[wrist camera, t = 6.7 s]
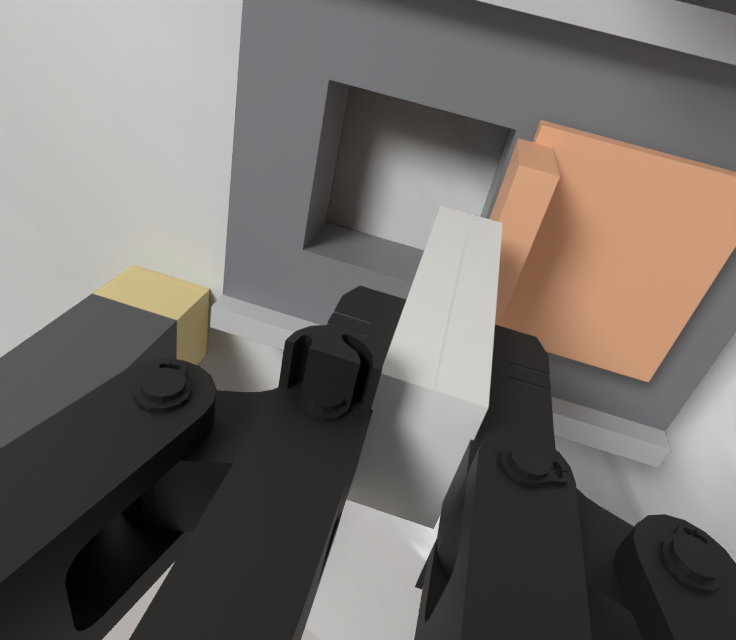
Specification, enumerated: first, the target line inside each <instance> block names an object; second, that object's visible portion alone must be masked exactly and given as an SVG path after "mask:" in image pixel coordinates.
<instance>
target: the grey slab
mask: <svg viewBox="0 0 736 640" xmlns="http://www.w3.org/2000/svg"><path fill="white" fill-rule="evenodd" d="M350 85H351V86H355V87H359V88H362V89H366V90H370V91H373V92H377V93H381V94H385V95H388V96H392V97H396V98H400V99H403V100H407V101H411V102H414V103H418V104H422V105H426V106H429V107H433V108H437V109H440V110H444V111H448V112H452V113H455V114H459V115H463V116H466V117H470V118H474V119H478V120H481V121H485V122H489V123H492V124H496V125H500V126H504V127H507V128H511V129H510V132H509V135H508V138H507V141H506V144H505V146H504V149H503V152H502V155H501V158H500V161H499V164H498V167H497V170H496V173H495V176H494V179H493V181H492V184H491V187H490V190H489V193H488V196H487V199H486V202H485V205H484V208H483V211H482V214H481V216H480V217H483V218H486V219H490V216H491V213H492V211H493V208H494V205H495V202H496V199H497V196H498V194H499V191H500V188H501V185H502V182H503V179H504V177H505V174H506V171H507V168H508V165H509V162H510V160H511V157H512V154H513V151H514V148H515V145H516V143H517V140H518V138H519V139H523V140H527V141H530V142H533V139H534V136H535V133H536V131H537V128H538V125H539V123H540V120H544V121H547V122H551V123H555V124H559V125H562V126H566V127H570V128H574V129H577V130H581V131H585V132H589V133H592V134H596V135H600V136H604V137H607V138H611V139H615V140H619V141H622V142H626V143H630V144H634V145H637V146H641V147H645V148H649V149H652V150H656V151H660V152H664V153H667V154H671V155H675V156H679V157H682V158H686V159H690V160H694V161H697V162H701V163H705V164H709V165H712V166H716V167H720V168H724V169H727V170H731V171H735V172H736V15H734V14H730V13H726V12H722V11H718V10H714V9H709V8H705V7H701V6H697V5H693V4H689V3H685V2H681V1H676V0H243V9H242V23H241V38H240V52H239V67H238V81H237V96H236V110H235V125H234V139H233V154H232V169H231V183H230V198H229V212H228V227H227V241H226V256H225V270H224V285H223V295H222V296H221V297H220V298H219V299H218V300H217V301H216V302H215V303H214V304H213V305H212V306H211V321H210V327H211V328H215V329H218V330H221V331H224V332H227V333H230V334H234V335H237V336H240V337H243V338H246V339H249V340H253V341H256V342H259V343H262V344H265V345H268V346H272V347H275V348H278V349H281V350H284V345H285V340H286V339H287V338H288V337H289V336H290V335H292V334H293V333H294V332H295V331H297V330H300V329H303V328H305V327H308V326H314V325H327V322H328V320H329V318H330V317H331V315H332V313H334V310H335V308H336V306H337V304H338V303H339V301H340V299H341V297H342V296H343V295H344V294H346V293H347V292H349V291H351V290H353V289H354V288H356V287H358V286H364V287H367V288H370V289H373V290H377V291H380V292H383V293H387V294H390V295H393V296H397V297H400V298H403V299H406V300H407V297H408V294H409V292H410V289H411V286H412V283H413V280H414V278H415V275H416V272H417V269H418V267H419V264H420V261H421V258H422V255H423V253H424V251H423V250H420V249H416V248H413V247H410V246H406V245H403V244H399V243H396V242H392V241H389V240H386V239H382V238H379V237H375V236H372V235H368V234H365V233H362V232H358V231H355V230H351V229H348V228H344V227H341V226H338V225H334V224H331V223H327V222H326V219H327V213H328V208H329V202H330V196H331V190H332V185H333V179H334V173H335V168H336V162H337V156H338V151H339V145H340V139H341V134H342V128H343V122H344V117H345V111H346V105H347V100H348V94H349V88H350ZM735 331H736V247H735V248H734V250H733V251H732V253H731V255H730V256H729V258H728V259H727V261H726V262H725V264H724V265H723V267H722V269H721V270H720V272H719V273H718V275H717V276H716V278H715V280H714V281H713V283H712V284H711V286H710V287H709V289H708V290H707V292H706V294H705V295H704V297H703V298H702V300H701V301H700V303H699V305H698V306H697V308H696V309H695V311H694V312H693V314H692V315H691V317H690V319H689V320H688V322H687V323H686V325H685V326H684V328H683V329H682V331H681V333H680V334H679V336H678V337H677V339H676V340H675V342H674V344H673V345H672V347H671V348H670V350H669V351H668V353H667V354H666V356H665V358H664V359H663V361H662V362H661V364H660V365H659V367H658V369H657V370H656V372H655V373H654V375H653V376H652V378H651V379H650V381H649V382H646V381H642V380H639V379H636V378H632V377H629V376H626V375H622V374H619V373H616V372H612V371H609V370H606V369H603V368H599V367H596V366H593V365H589V364H586V363H583V362H579V361H576V360H573V359H569V358H566V357H563V356H560V355H556V354H553V353H550V352H546V353H547V354H548V356H549V369H550V375H549V377H550V383H551V390H550V393H551V397H552V411H553V425H554V436H557V437H560V438H564V439H567V440H570V441H573V442H576V443H580V444H583V445H586V446H589V447H592V448H595V449H599V450H602V451H605V452H608V453H611V454H614V455H618V456H621V457H624V458H627V459H630V460H633V461H637V462H640V463H643V464H646V465H649V466H653V467H656V468H658V467H659V466H660V464H661V463H662V462H663V460H664V459H665V458H666V456H667V455H668V453H669V452H670V451H671V448H670V445H669V442H668V439H667V436H666V433H665V430H666V429H667V427H668V426H669V425H670V423H671V422H672V420H673V419H674V418H675V416H676V415H677V413H678V412H679V411H680V409H681V408H682V406H683V405H684V403H685V402H686V401H687V399H688V398H689V396H690V395H691V394H692V392H693V391H694V389H695V388H696V387H697V385H698V384H699V382H700V381H701V379H702V378H703V377H704V375H705V374H706V372H707V371H708V370H709V368H710V367H711V365H712V364H713V363H714V361H715V360H716V358H717V357H718V355H719V354H720V353H721V351H722V350H723V348H724V347H725V346H726V344H727V343H728V341H729V340H730V338H731V337H732V336H733V334H734V333H735Z"/></svg>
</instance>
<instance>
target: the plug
mask: <svg viewBox="0 0 736 640" xmlns="http://www.w3.org/2000/svg"><path fill="white" fill-rule="evenodd" d="M209 296H210V289H209V288H206V287H202V286H199V285H196V284H193V283H189V282H186V281H183V280H180V279H176V278H173V277H170V276H167V275H163V274H160V273H157V272H154V271H151V270H147V269H144V268H141V267H138V266H134V265H132V266H131V267H129V268H128V269H127V270H125V271H124V272H122V273H121V274H119V275H118V276H117V277H115V278H114V279H112V280H111V281H109V282H108V283H107V284H105V285H104V286H102V287H101V288H99V289H98V290H97V291H95V292H94V293H92V294H91V295H89V296H88V297H87V298H85V299H84V300H82V301H81V302H79V303H78V304H77V305H75V306H74V307H72V308H71V309H70V310H68V311H67V312H65V313H64V314H62V315H61V316H60V317H58V318H57V319H55V320H54V321H52V322H51V323H50V324H48V325H47V326H45V327H44V328H42V329H41V330H40V331H38V332H37V333H35V334H34V335H32V336H31V337H30V338H28V339H27V340H25V341H24V342H22V343H21V344H20V345H18V346H17V347H15V348H14V349H12V350H11V351H10V352H8V353H7V354H5V355H4V356H2V357H1V358H0V448H2V447H4V446H5V445H7V444H8V443H10V442H11V441H13V440H15V439H16V438H18V437H19V436H21V435H23V434H24V433H26V432H27V431H29V430H30V429H32V428H34V427H35V426H37V425H38V424H40V423H42V422H43V421H45V420H46V419H48V418H49V417H51V416H53V415H54V414H56V413H57V412H59V411H61V410H62V409H64V408H65V407H67V406H68V405H70V404H72V403H73V402H75V401H76V400H78V399H80V398H81V397H83V396H84V395H86V394H87V393H89V392H91V391H92V390H94V389H95V388H97V387H99V386H100V385H102V384H103V383H105V382H106V381H108V380H110V379H111V378H113V377H114V376H116V375H118V374H119V373H121V372H122V371H124V370H125V369H128V368H130V367H132V366H134V365H137V364H139V363H141V362H144V361H150V360H156V359H162V358H165V359H178V360H184V361H187V362H190V363H192V364H195V365H198V364H199V362H200V361H201V360H202V359H203V358H204V357H205V356H206V352H207V334H208V315H209Z"/></svg>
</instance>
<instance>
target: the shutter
mask: <svg viewBox="0 0 736 640" xmlns="http://www.w3.org/2000/svg"><path fill="white" fill-rule="evenodd" d="M490 220H493V221H497V222H500V223H503V225H502V238H501V251H500V264H499V277H498V290H497V303H496V316H495V324H496V325H499V326H502V327H505V328H509V329H512V330H515V331H519V332H522V333H525V334H529V335H532V336H535V337H537V338H538V340H539V341H540V343H541V345H542V346H543V348H544V349H545V351H546V352H550V353H553V354H556V355H560V356H563V357H566V358H569V359H573V360H576V361H579V362H583V363H586V364H589V365H593V366H596V367H599V368H603V369H606V370H609V371H612V372H616V373H619V374H622V375H626V376H629V377H632V378H636V379H639V380H642V381H646V382H649V381H650V379H651V378H652V376H653V375H654V373H655V372H656V370H657V369H658V367H659V365H660V364H661V362H662V361H663V359H664V358H665V356H666V354H667V353H668V351H669V350H670V348H671V347H672V345H673V344H674V342H675V340H676V339H677V337H678V336H679V334H680V333H681V331H682V329H683V328H684V326H685V325H686V323H687V322H688V320H689V319H690V317H691V315H692V314H693V312H694V311H695V309H696V308H697V306H698V305H699V303H700V301H701V300H702V298H703V297H704V295H705V294H706V292H707V290H708V289H709V287H710V286H711V284H712V283H713V281H714V280H715V278H716V276H717V275H718V273H719V272H720V270H721V269H722V267H723V265H724V264H725V262H726V261H727V259H728V258H729V256H730V255H731V253H732V251H733V250H734V248H735V247H736V172H735V171H731V170H727V169H724V168H720V167H716V166H712V165H709V164H705V163H701V162H697V161H694V160H690V159H686V158H682V157H679V156H675V155H671V154H667V153H664V152H660V151H656V150H652V149H649V148H645V147H641V146H637V145H634V144H630V143H626V142H622V141H619V140H615V139H611V138H607V137H604V136H600V135H596V134H592V133H589V132H585V131H581V130H577V129H574V128H570V127H566V126H562V125H559V124H555V123H551V122H547V121H544V120H540V123H539V125H538V128H537V131H536V133H535V136H534V139H533V142H530V141H527V140H523V139H519V138H518V140H517V143H516V145H515V148H514V151H513V154H512V157H511V160H510V162H509V165H508V168H507V171H506V174H505V177H504V179H503V182H502V185H501V188H500V191H499V194H498V196H497V199H496V202H495V205H494V208H493V211H492V213H491V216H490Z"/></svg>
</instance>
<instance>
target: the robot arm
mask: <svg viewBox="0 0 736 640" xmlns="http://www.w3.org/2000/svg"><path fill="white" fill-rule="evenodd" d="M502 225H503V223H500V222H497V221H493V220H490V219H486V218H483V217H479V216H476V215H472V214H469V213H465V212H462V211H458V210H455V209H451V208H448V207H444V206H441V205H440V208H439V211H438V214H437V216H436V219H435V222H434V225H433V227H432V230H431V233H430V236H429V239H428V241H427V244H426V247H425V250H424V253H423V255H422V258H421V261H420V264H419V267H418V269H417V272H416V275H415V278H414V280H413V283H412V286H411V289H410V292H409V294H408V297H407V300H406V299H403V298H400V297H397V296H393V295H390V294H387V293H383V292H380V291H377V290H373V289H370V288H367V287H364V286H358V287H356V288H354V289H353V290H351V291H349V292H347V293H346V294H344V295H343V296H342V297H341V299H340V301H339V303H338V304H337V306H336V308H335V310H334V313H332V315H331V317H330V318H329V320H328V322H327V325H314V326H308V327H305V328H303V329H300V330H297V331H295V332H294V333H293V334H292V335H290V336H289V337H288V338H287V339H286V340H285V345H284V352H283V359H282V366H281V373H280V380H279V387H278V388H276V389H273V390H268V391H263V392H232V391H217V390H216V386H215V384H214V382H213V379H212V377H211V375H210V374H208V373H207V372H206V371H205V370H203V369H202V368H201V367H200V366H198V365H195V364H192V363H190V362H187V361H184V360H178V359H165V358H162V359H156V360H150V361H144V362H141V363H139V364H137V365H134V366H132V367H130V368H128V369H125V370H124V371H122V372H121V373H119V374H118V375H116V376H114V377H113V378H111V379H110V380H108V381H106V382H105V383H103V384H102V385H100V386H99V387H97V388H95V389H94V390H92V391H91V392H89V393H87V394H86V395H84V396H83V397H81V398H80V399H78V400H76V401H75V402H73V403H72V404H70V405H68V406H67V407H65V408H64V409H62V410H61V411H59V412H57V413H56V414H54V415H53V416H51V417H49V418H48V419H46V420H45V421H43V422H42V423H40V424H38V425H37V426H35V427H34V428H32V429H30V430H29V431H27V432H26V433H24V434H23V435H21V436H19V437H18V438H16V439H15V440H13V441H11V442H10V443H8V444H7V445H5V446H4V447H2V448H0V640H102V639H103V638H104V637H105V636H106V635H107V633H108V632H109V631H110V630H111V629H112V628H113V627H114V626H115V625H116V624H117V623H118V622H119V621H120V620H121V618H122V617H123V616H124V615H125V614H126V613H127V612H128V611H129V610H130V609H131V608H132V607H133V606H134V605H135V603H136V602H137V601H138V600H139V599H140V598H141V597H142V596H143V595H144V594H145V593H146V591H148V590H149V588H150V587H151V586H152V585H153V584H154V583H155V582H156V581H157V580H158V579H159V578H160V577H161V575H162V574H163V573H164V572H165V571H166V570H167V569H168V568H169V567H170V566H171V565H172V564H173V563H174V562H175V563H174V565H173V566H172V568H171V570H170V571H169V573H168V575H167V576H166V578H165V580H164V582H163V583H162V585H161V587H160V588H159V590H158V592H157V594H156V595H155V597H154V598H153V600H152V602H151V604H150V605H149V607H148V609H147V610H146V612H145V614H144V615H143V617H142V619H141V620H140V622H139V624H138V626H137V627H136V629H135V631H134V632H133V634H132V636H131V637H130V639H129V640H301V637H302V634H303V631H304V629H305V626H306V622H307V619H308V616H309V613H310V610H311V607H312V604H313V601H314V598H315V595H316V592H317V589H318V586H319V583H320V580H321V577H322V574H323V571H324V568H325V565H326V562H327V559H328V556H329V553H330V550H331V547H332V544H333V541H334V538H335V535H336V532H337V529H338V525H339V522H340V518H341V515H342V511H343V508H344V505H345V502H346V499H347V500H350V501H353V502H356V503H359V504H362V505H365V506H368V507H371V508H374V509H377V510H380V511H382V512H385V513H388V514H391V515H394V516H397V517H400V518H403V519H406V520H409V521H412V522H415V523H418V524H421V525H424V526H427V527H430V528H433V529H434V527H435V525H436V522H437V520H438V518H439V516H440V514H441V516H440V523H439V529H438V536H437V539H436V541H435V544H434V546H433V548H432V550H431V552H430V554H429V556H428V559H427V561H426V563H425V565H424V567H423V569H422V571H421V574H420V576H419V578H418V581H417V583H416V586H415V587H417V588H420V589H422V588H423V590H422V596H421V602H420V609H419V615H418V621H417V627H416V633H415V639H414V640H736V563H735V562H734V561H733V559H732V558H731V557H730V555H729V554H728V553H727V551H726V550H725V549H724V548H723V547H722V546H721V545H719V544H718V543H717V542H716V541H715V540H714V539H713V538H711V537H710V536H709V535H708V534H707V533H706V532H704V531H702V530H701V529H699V528H697V527H695V526H694V525H692V524H690V523H688V522H687V521H685V520H682V519H678V518H675V517H672V516H668V515H648V516H647V517H645V518H644V519H643V520H641V521H640V522H638V523H637V524H636V526H635V527H634V526H632V525H630V524H629V523H627V522H625V521H624V520H622V519H620V518H618V517H617V516H615V515H613V514H612V513H610V512H608V511H607V510H605V509H603V508H602V507H600V506H598V505H597V504H596V503H594V502H593V501H591V500H590V499H588V498H587V497H586V496H584V495H583V494H582V493H581V492H580V491H579V490H578V489H577V488H576V482H575V479H574V476H573V473H572V470H571V467H570V466H569V465H568V463H567V462H566V461H565V459H564V458H563V457H562V455H561V454H560V453H559V452H558V451H557V450H556V449H555V438H554V425H553V411H552V397H551V393H550V390H551V383H550V377H549V375H550V369H549V356H548V354H547V353H546V351H545V349H544V348H543V346H542V345H541V343H540V341H539V340H538V338H537V337H535V336H532V335H529V334H525V333H522V332H519V331H515V330H512V329H509V328H505V327H502V326H499V325H496V324H495V316H496V303H497V290H498V277H499V264H500V251H501V238H502Z"/></svg>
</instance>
